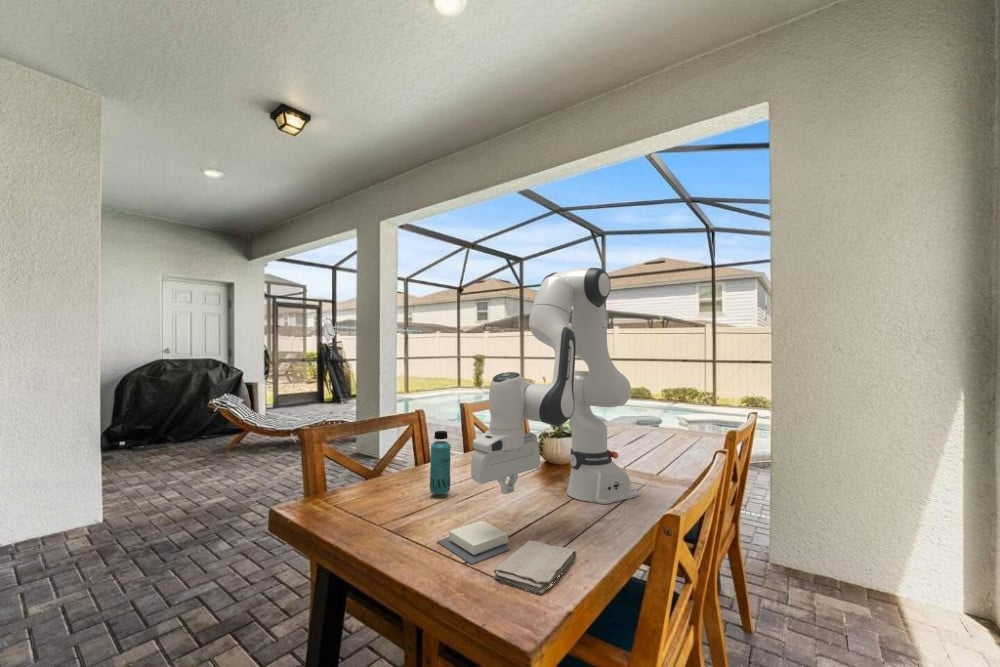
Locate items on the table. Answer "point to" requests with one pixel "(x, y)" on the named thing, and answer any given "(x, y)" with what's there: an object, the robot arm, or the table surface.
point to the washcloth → (535, 566)
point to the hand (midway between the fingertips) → (507, 492)
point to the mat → (470, 557)
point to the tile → (478, 537)
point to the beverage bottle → (440, 465)
